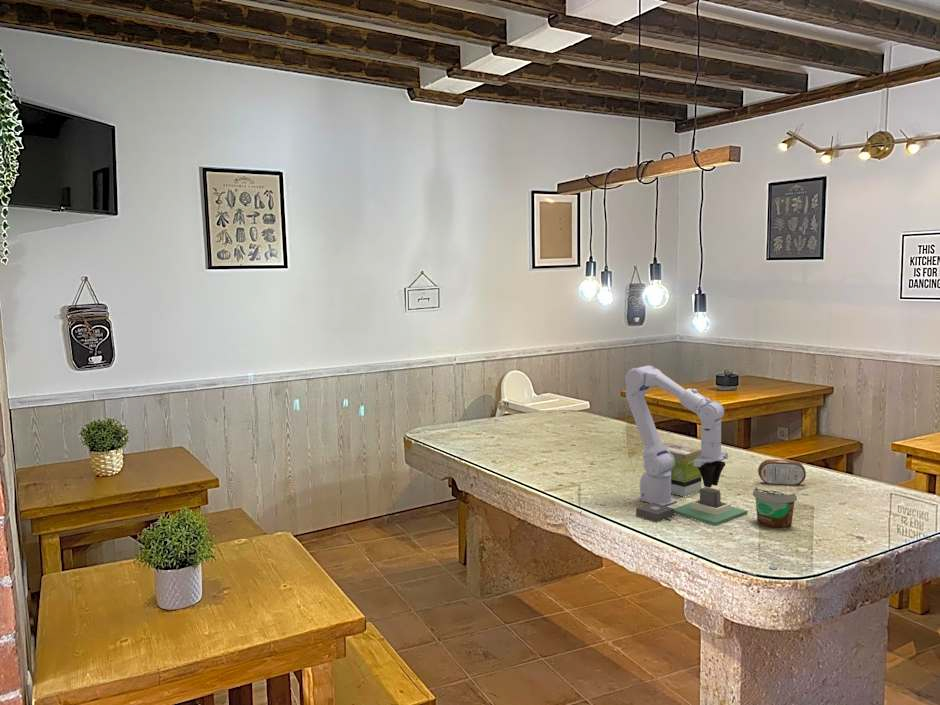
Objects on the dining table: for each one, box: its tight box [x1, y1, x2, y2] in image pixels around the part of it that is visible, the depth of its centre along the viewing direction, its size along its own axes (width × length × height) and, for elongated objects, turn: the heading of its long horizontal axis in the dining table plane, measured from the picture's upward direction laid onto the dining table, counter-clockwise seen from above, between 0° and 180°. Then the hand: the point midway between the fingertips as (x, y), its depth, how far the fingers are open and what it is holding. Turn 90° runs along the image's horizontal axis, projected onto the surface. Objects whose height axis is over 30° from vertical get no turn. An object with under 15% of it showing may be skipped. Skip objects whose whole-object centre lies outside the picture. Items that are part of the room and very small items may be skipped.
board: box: [674, 498, 748, 527], centre depth 224 cm, size 16×16×3 cm
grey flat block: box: [635, 503, 675, 523], centre depth 222 cm, size 10×8×3 cm
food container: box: [752, 485, 798, 529], centre depth 212 cm, size 12×6×10 cm, turn 44°
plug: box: [699, 486, 722, 508], centre depth 224 cm, size 6×3×6 cm, turn 37°
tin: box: [757, 459, 807, 486], centre depth 251 cm, size 15×3×8 cm, turn 74°
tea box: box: [661, 441, 703, 498], centre depth 248 cm, size 15×10×15 cm, turn 40°
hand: (710, 485), depth 224 cm, fingers open, 2 cm apart
